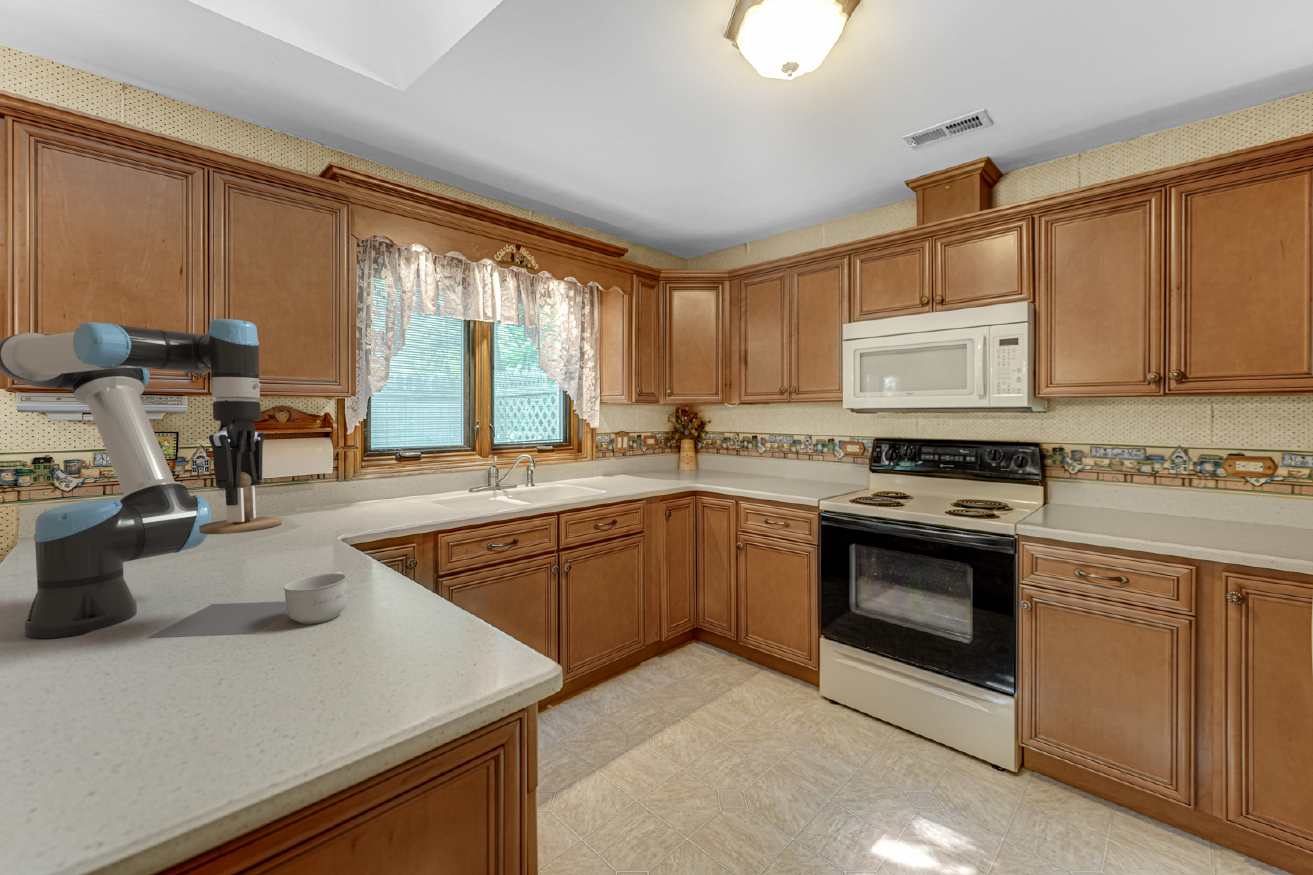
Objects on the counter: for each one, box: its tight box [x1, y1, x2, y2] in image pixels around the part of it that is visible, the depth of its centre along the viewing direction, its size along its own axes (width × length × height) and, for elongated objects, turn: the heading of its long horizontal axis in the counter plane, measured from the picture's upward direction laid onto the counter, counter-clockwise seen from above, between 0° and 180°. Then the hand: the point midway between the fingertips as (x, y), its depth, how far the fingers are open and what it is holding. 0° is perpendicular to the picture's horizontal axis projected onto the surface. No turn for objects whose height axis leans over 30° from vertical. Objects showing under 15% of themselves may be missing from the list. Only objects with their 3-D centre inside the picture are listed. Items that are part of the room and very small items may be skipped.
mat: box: [146, 601, 288, 639], centre depth 111 cm, size 18×18×1 cm
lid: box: [199, 472, 282, 535], centre depth 110 cm, size 13×13×11 cm
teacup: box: [283, 570, 349, 625], centre depth 113 cm, size 14×11×8 cm
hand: (241, 519), depth 110 cm, fingers closed on lid, 3 cm apart
